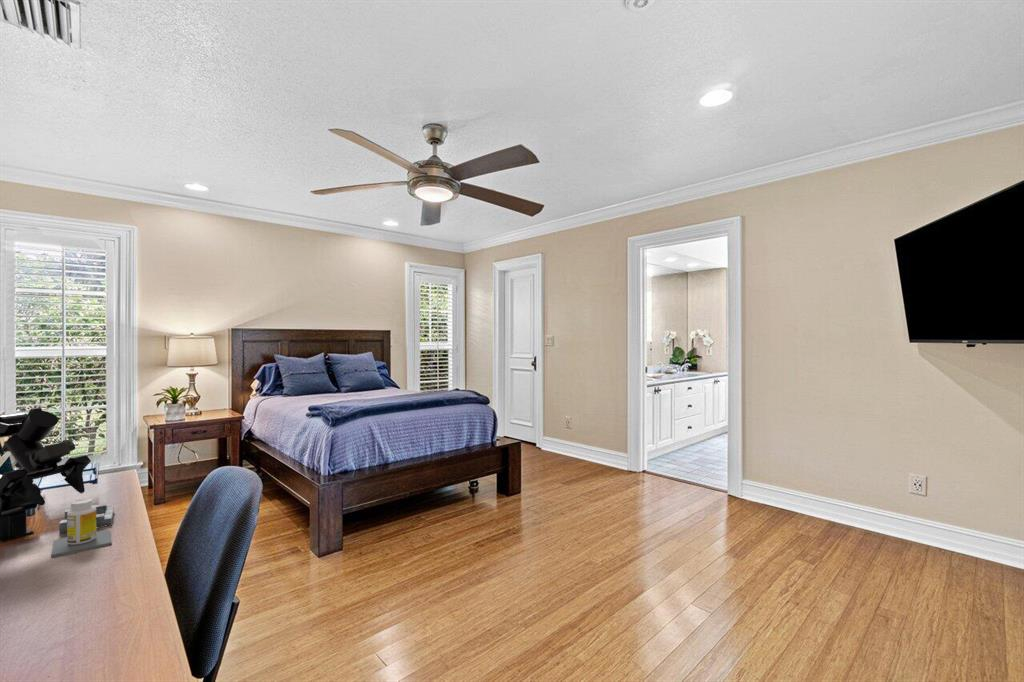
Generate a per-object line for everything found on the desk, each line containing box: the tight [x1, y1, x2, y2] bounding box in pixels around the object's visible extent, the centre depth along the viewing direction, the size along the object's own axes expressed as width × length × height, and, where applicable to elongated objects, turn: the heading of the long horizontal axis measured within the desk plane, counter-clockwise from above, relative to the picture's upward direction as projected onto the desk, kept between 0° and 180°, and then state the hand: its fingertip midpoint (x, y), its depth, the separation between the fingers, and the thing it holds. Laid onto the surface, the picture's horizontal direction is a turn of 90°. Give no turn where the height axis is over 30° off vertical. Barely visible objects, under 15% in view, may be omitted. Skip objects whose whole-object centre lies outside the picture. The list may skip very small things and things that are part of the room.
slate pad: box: [50, 529, 112, 558], centre depth 122 cm, size 11×11×1 cm
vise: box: [58, 502, 115, 535], centre depth 134 cm, size 17×11×3 cm, turn 37°
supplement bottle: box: [66, 498, 97, 545], centre depth 122 cm, size 6×6×10 cm
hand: (64, 498), depth 123 cm, fingers open, 9 cm apart
